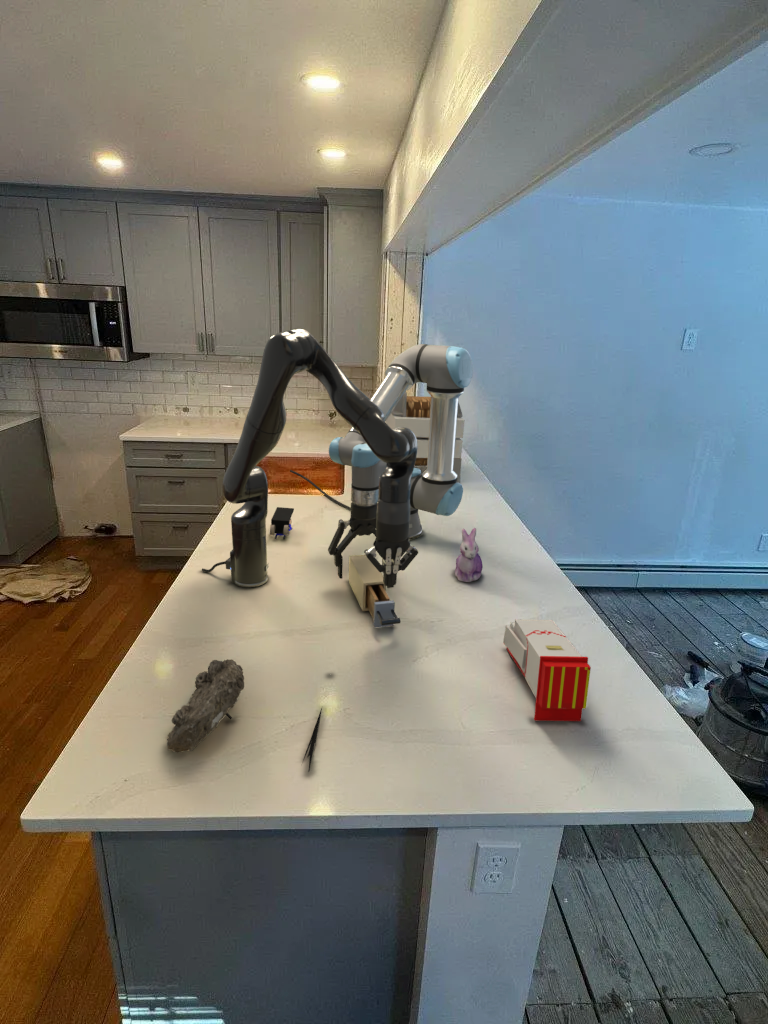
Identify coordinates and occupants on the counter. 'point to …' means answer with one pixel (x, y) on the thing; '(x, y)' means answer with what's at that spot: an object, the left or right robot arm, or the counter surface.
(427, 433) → the grey slatted crate
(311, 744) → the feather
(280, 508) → the figurine character
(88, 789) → the counter surface
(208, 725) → the fossil
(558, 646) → the toy
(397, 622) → the drawer
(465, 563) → the figurine
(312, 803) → the counter surface
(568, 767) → the counter surface
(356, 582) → the cabinet
